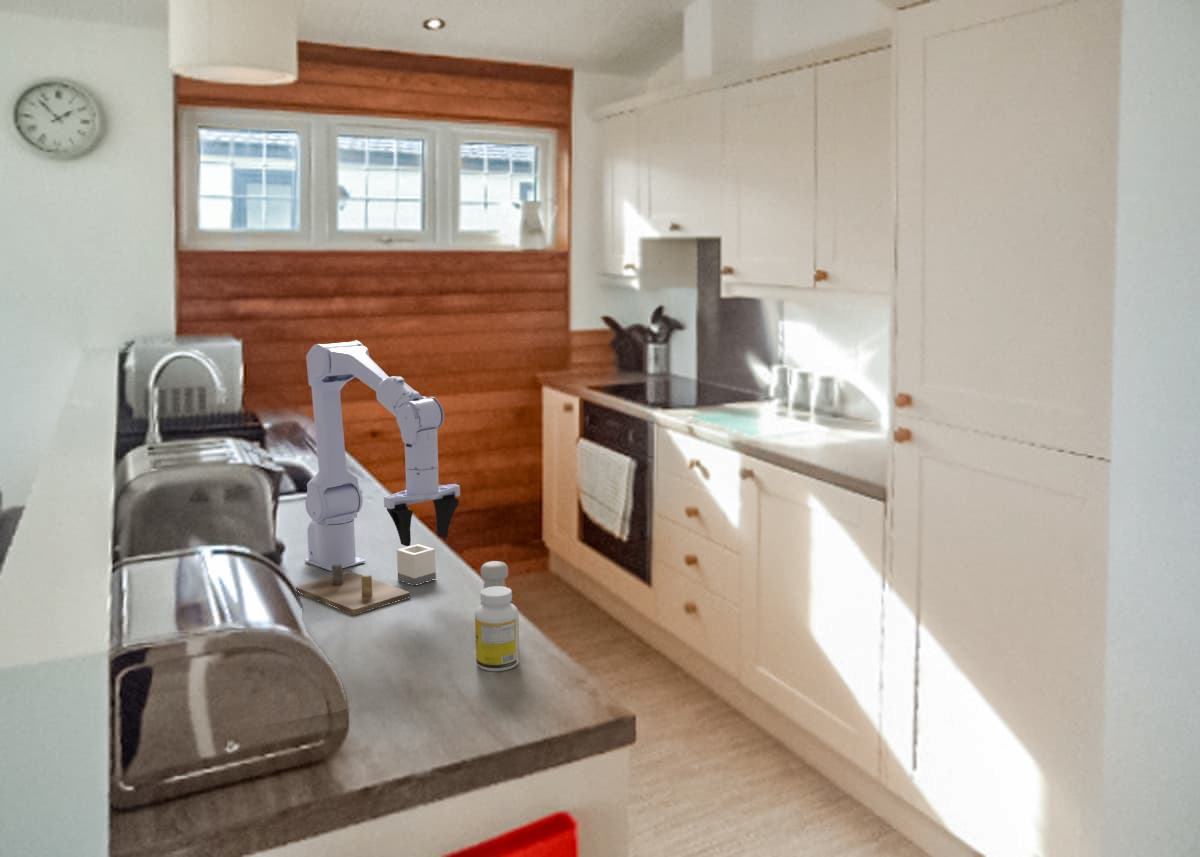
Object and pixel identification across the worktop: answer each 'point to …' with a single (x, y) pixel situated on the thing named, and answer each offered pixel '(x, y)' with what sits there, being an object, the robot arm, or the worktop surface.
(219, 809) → the worktop surface
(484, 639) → the pill bottle
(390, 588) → the pin board
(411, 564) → the sleeve
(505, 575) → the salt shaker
